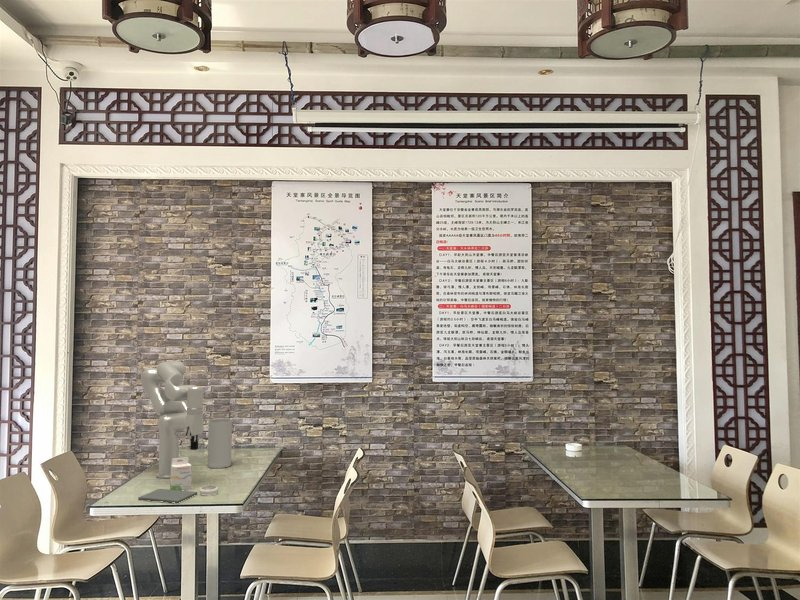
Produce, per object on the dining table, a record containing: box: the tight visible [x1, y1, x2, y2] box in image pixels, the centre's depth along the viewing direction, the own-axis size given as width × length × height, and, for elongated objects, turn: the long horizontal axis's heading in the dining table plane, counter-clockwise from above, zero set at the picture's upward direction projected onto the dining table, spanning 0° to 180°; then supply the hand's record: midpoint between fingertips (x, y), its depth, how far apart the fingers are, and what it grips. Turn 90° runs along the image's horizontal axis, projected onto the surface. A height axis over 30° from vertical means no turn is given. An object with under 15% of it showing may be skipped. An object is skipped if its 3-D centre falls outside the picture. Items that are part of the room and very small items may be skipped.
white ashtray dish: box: [199, 485, 219, 496], centre depth 282 cm, size 8×8×3 cm
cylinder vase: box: [207, 418, 233, 469], centre depth 337 cm, size 12×12×25 cm
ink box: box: [169, 456, 193, 491], centre depth 288 cm, size 9×5×15 cm, turn 126°
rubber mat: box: [138, 488, 198, 504], centre depth 275 cm, size 15×20×1 cm
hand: (194, 449), depth 298 cm, fingers closed
